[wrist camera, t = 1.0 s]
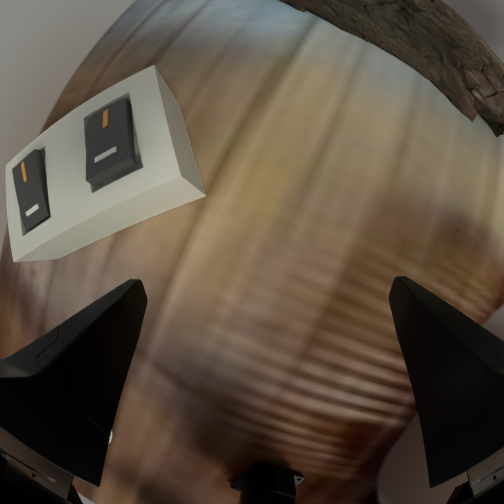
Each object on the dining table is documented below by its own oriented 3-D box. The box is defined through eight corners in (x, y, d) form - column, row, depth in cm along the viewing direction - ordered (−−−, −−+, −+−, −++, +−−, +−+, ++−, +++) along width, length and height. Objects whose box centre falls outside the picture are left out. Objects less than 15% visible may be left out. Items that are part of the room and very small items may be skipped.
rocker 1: (55, 213, 18) (47, 215, 16) (32, 229, 18) (24, 231, 17) (41, 150, 16) (33, 149, 15) (18, 169, 17) (11, 169, 15)
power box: (206, 196, 23) (181, 176, 16) (59, 259, 24) (13, 262, 17) (170, 70, 23) (147, 31, 16) (45, 143, 24) (8, 127, 17)
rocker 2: (136, 164, 16) (127, 156, 15) (94, 186, 16) (84, 180, 15) (131, 105, 17) (125, 97, 16) (94, 125, 17) (87, 118, 16)
